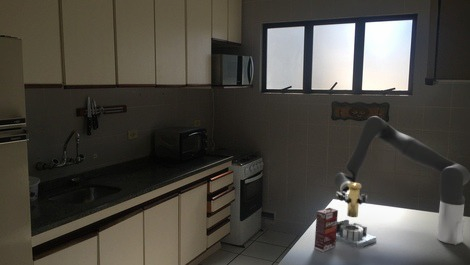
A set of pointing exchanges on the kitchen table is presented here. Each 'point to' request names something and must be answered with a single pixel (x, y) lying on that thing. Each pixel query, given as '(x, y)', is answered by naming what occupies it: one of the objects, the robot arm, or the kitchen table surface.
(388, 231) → the kitchen table surface
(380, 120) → the robot arm
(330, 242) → the supplement box
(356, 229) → the jig
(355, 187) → the bushing
